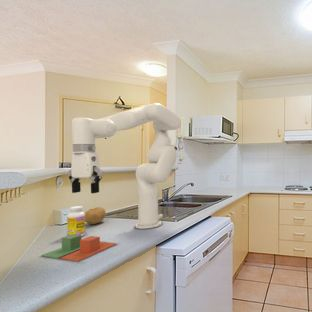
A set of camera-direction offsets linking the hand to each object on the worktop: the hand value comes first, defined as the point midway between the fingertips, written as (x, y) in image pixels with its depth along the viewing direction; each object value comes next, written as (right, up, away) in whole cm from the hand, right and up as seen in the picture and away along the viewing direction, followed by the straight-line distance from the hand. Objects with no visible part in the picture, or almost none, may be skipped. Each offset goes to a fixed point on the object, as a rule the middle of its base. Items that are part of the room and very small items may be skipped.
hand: (85, 192), depth 92 cm
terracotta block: (+6, -20, -7) cm, 22 cm away
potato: (-16, -22, +32) cm, 42 cm away
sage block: (-3, -20, -4) cm, 21 cm away
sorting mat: (+2, -21, -5) cm, 21 cm away
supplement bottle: (-12, -21, +12) cm, 27 cm away
